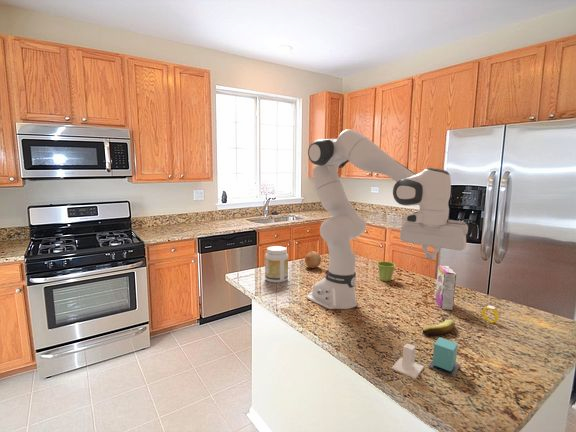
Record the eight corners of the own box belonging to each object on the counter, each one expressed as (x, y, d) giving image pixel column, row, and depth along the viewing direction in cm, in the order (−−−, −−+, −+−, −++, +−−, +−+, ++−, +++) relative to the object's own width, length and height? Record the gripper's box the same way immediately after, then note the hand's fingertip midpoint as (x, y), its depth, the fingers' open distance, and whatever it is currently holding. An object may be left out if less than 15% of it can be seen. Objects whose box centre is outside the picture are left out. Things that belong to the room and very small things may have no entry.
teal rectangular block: (432, 364, 96) (434, 343, 95) (437, 357, 100) (439, 337, 99) (451, 371, 93) (453, 350, 92) (455, 363, 97) (457, 343, 96)
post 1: (391, 368, 95) (393, 346, 94) (400, 358, 101) (402, 337, 100) (415, 379, 91) (417, 356, 90) (423, 367, 96) (425, 346, 95)
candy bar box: (434, 299, 148) (437, 264, 146) (446, 300, 147) (449, 265, 145) (440, 309, 137) (444, 272, 135) (453, 310, 136) (457, 273, 134)
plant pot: (396, 278, 175) (397, 263, 174) (391, 283, 167) (392, 267, 166) (379, 275, 180) (380, 260, 179) (374, 280, 172) (375, 264, 171)
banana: (446, 364, 99) (448, 352, 99) (378, 327, 122) (379, 317, 122) (502, 334, 118) (503, 324, 118) (433, 307, 141) (434, 299, 140)
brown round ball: (316, 271, 186) (316, 254, 184) (301, 268, 191) (301, 251, 190) (323, 267, 194) (324, 251, 192) (309, 264, 199) (309, 248, 198)
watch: (498, 324, 125) (501, 310, 124) (493, 325, 125) (495, 311, 123) (485, 316, 131) (487, 303, 130) (479, 317, 130) (482, 304, 129)
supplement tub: (280, 274, 179) (281, 244, 177) (292, 280, 169) (293, 249, 167) (261, 277, 173) (261, 246, 170) (271, 284, 163) (272, 252, 160)
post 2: (428, 367, 96) (430, 345, 95) (435, 357, 102) (437, 336, 101) (453, 377, 92) (456, 354, 91) (459, 366, 97) (462, 344, 96)
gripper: (470, 220, 102) (466, 263, 104) (406, 214, 115) (403, 251, 117) (466, 222, 97) (462, 267, 99) (399, 215, 110) (396, 255, 112)
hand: (429, 258), depth 108 cm, fingers closed
